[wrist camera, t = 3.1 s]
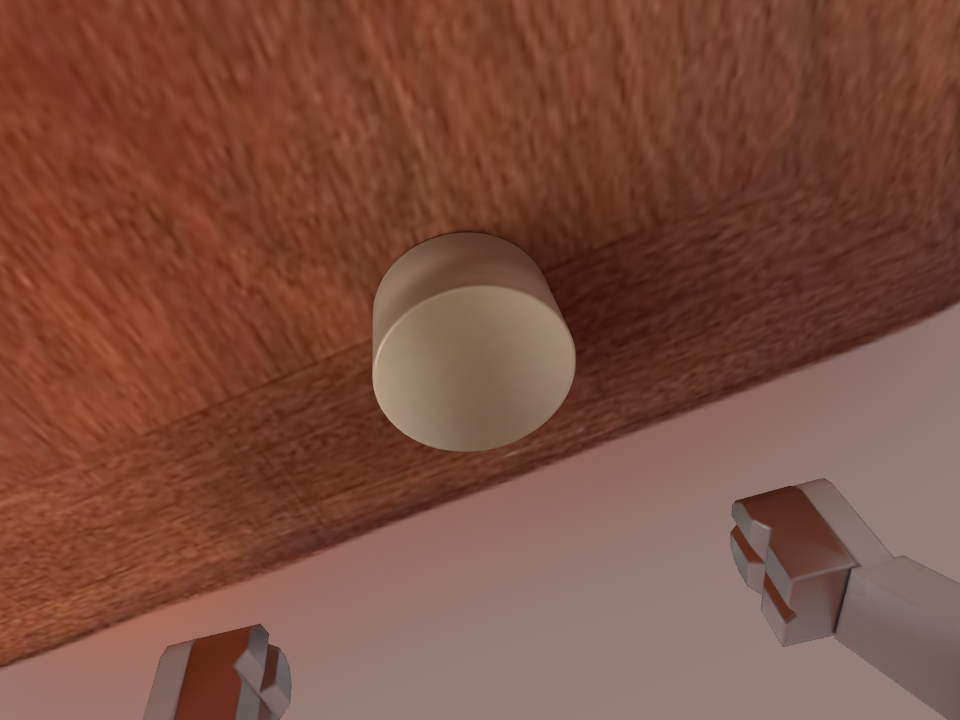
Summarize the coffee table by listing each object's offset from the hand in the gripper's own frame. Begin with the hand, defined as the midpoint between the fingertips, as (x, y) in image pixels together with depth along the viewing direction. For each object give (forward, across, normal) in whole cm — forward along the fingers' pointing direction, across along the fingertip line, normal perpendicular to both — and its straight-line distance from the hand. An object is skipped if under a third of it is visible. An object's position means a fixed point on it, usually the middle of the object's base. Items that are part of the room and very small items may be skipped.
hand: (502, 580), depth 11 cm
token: (+9, 0, 0) cm, 9 cm away
